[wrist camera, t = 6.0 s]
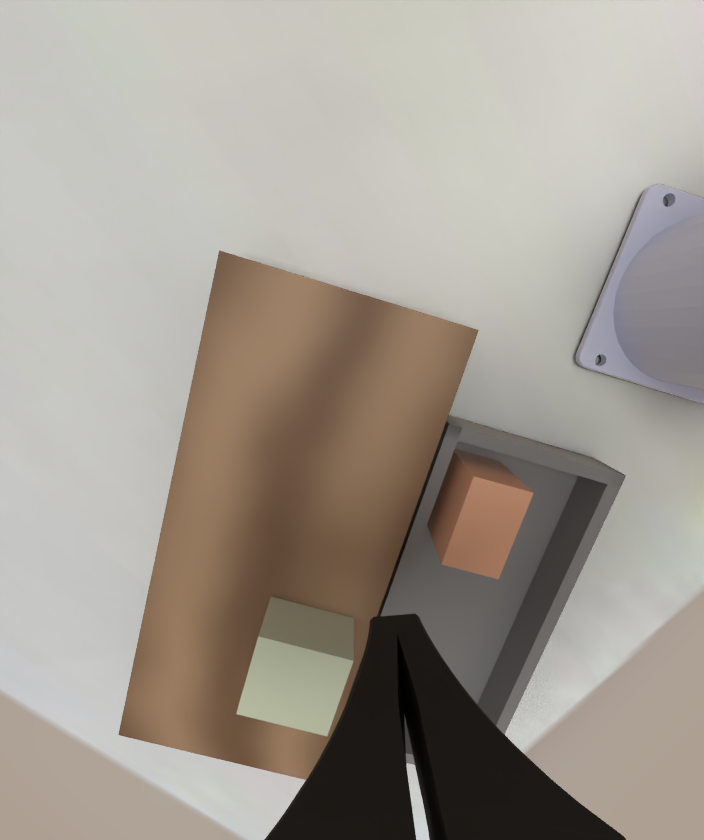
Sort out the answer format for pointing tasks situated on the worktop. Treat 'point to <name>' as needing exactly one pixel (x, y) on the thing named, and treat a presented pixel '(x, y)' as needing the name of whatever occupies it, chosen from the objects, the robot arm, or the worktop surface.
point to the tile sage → (298, 667)
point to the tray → (522, 573)
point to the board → (284, 495)
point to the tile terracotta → (477, 514)
